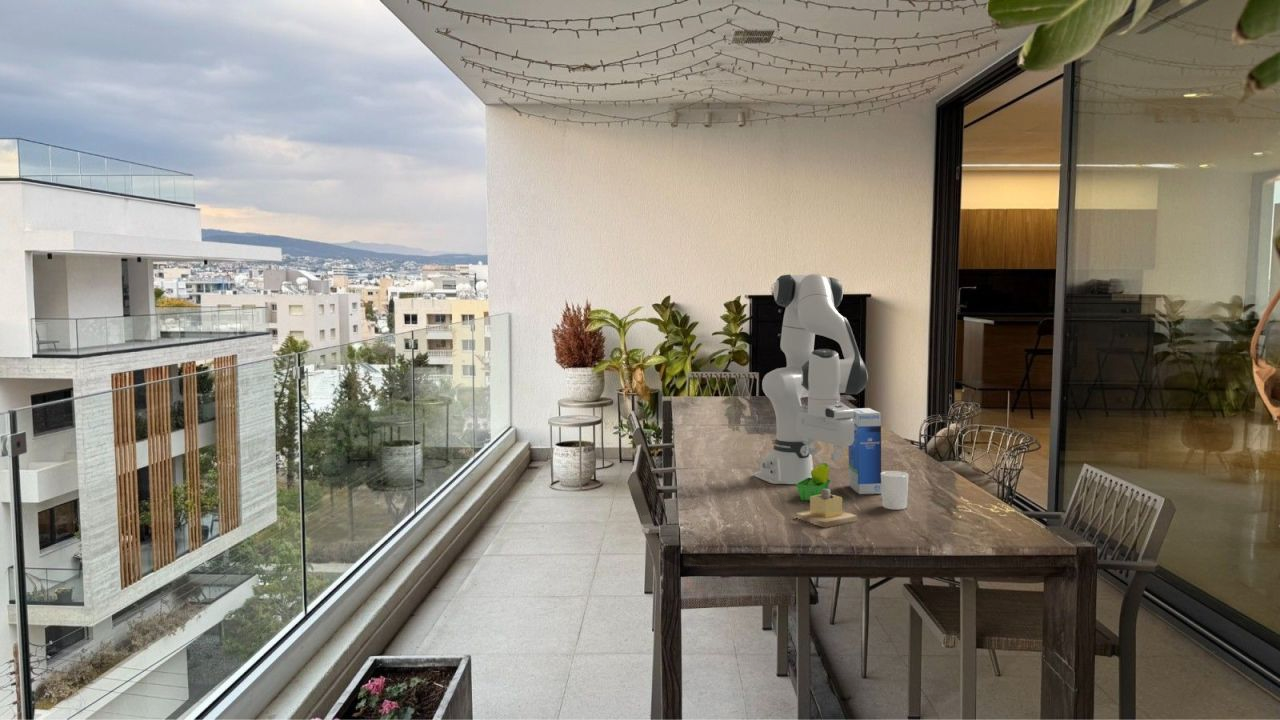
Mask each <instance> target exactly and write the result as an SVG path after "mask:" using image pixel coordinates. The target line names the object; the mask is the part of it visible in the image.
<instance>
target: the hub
mask: <svg viewBox="0 0 1280 720" xmlns="http://www.w3.org/2000/svg"><path fill="white" fill-rule="evenodd" d="M830 495H833V498H828V499H824V498H822V494H819V495H814V496H810V501H809V502H810V503H809V510H810V514H813V515H816V516H820V517H823V518H830V517H835V516H840V515H842V511H843V497H842V496H838V495H834V494H833V493H832V494H831V493H830Z"/></svg>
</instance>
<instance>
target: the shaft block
mask: <svg viewBox="0 0 1280 720" xmlns="http://www.w3.org/2000/svg"><path fill="white" fill-rule="evenodd" d="M830 494H831V489H830V488H828V489H822V498H824V499H828V498H833V495H834V494H832V495H830ZM796 518H798V519H797V520H799V519H801V520H800V521H802V520H804V521H803V522H805V521H807V522H806V523H809V522H810V523H809V524H812V523H813V524H812V525H816V526H819V527H822V528H830V527H834V526H835V527H836V526H840V525H844V524H850V523H855V522H858V515H856V514H853V513H850V512H846V511H844V510H842V515H840V516H835V517H830V518H823V517H820V516H816V515H813V514H810V509H809V510H804V511H800V512H795V519H796Z"/></svg>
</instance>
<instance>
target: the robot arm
mask: <svg viewBox="0 0 1280 720" xmlns="http://www.w3.org/2000/svg"><path fill="white" fill-rule="evenodd" d="M843 295H844V290H843V284H842V283H841V280H839V279H837V278H835V277H826V276H824V275H822V274H819V273H811V274H808V275H807V274H806V275H805V274H804V275H803V274H797V275H795V274H783V275H780V276H779V277H778V278H777V279H776V281H775V283H774V286H773V297H774V302H775V303H776V304H777V305H778V306H781V307H784V308H785V310H784V314H783V320H782V326H781V335H780V336H781V337H780V345H779V346H780V347H779V348H780V351H782V352H783V353H784V355H785V359H786V360H785V361H786V366H785V367H780V368H779V367H777V368H775V369H773V370H771V371H769V372H767V373H766V374H765V375H764V376H763V379H762V383H761V386H762V387H761V389H762V391H763V393H764V394H765V396H766V397H767V399H769V401H770V402H771V404H772V407H773V410H774V413H775V420H776V421H775V422H776V439H772V440H771V444H774V445H773V447H772V448H773V449H772V450H771V451H769V453H768V454H766V455H764V457H763V458H762V459H761V461H760V469H759V470H758V471H756V472H754V473H753V476H754V477H755V478H757V479H759V480H763V481H765V482H766V483H767V482H768V483H770V484H772V485H784V484H785V485H796V484H797V483H799V482H801V481H803V480H805V479H806V478H812V476H811V471H812V470H813V469H814V463H813V455H816V454H817V447H815V445H814V441H817V442H821V443H825V444H830V445H833V449H834V451H833V453H831V454H830V460H831V461H835V462H836V461H839V460H840V454H841V453H842V451H843V448H844V447H849V446H851V445H852V444H853V442H854V423H853V420H852V419H851V417H853V416H854V411H853V410H852V409H853V408H851V407H849V406H847V405H846V404H845V403H844V402H842V401H841V394H849V395H858V394H859V393H861V392H862V391H863V390H865V388H867V385H868V379H869V375H868V371H867V367H866V364H865V362H864V360H863V358H862V355H861V354H860V351H859V347H858V345H857V342H856V338H855V335H854V334H853V329H852V327H851V325H850V321H849V320H848V319H847V317H846V316H843V315H842V314H841V313H839V311H838V310H837V308H838V307H839V306H840V305H841V302H842V300H843ZM816 335H818V336H823V337H825V338H828V339H831V340H833V341H835V342H837V343H838V344H839V346H840V348H841V351H842V355H843V358H844V359H843V358H842V359H841V358H840V356H839V353H838V352H837V351H836V350H832V349H829V348H818V349H814V348H815V340H816V339H815V338H816ZM803 398H807V404H802V401H801V399H803Z"/></svg>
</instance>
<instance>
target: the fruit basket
mask: <svg viewBox="0 0 1280 720" xmlns="http://www.w3.org/2000/svg"><path fill="white" fill-rule="evenodd" d="M829 474H830V467H829V464H827V463H826V462H821V463H819V465H818V466H815V467H813V470H812V471H811V476H812V478H806V479H805V480H803V481H801V482H799V483H797V484H795V485H796V488H797V489H798V490H797V491H798V494H799V497H800V500H801V501H807V500H809V501H808V502H810V496H814V495H819V494H822V489H829V485H830V483H831V479H829V477H830V475H829Z"/></svg>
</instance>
